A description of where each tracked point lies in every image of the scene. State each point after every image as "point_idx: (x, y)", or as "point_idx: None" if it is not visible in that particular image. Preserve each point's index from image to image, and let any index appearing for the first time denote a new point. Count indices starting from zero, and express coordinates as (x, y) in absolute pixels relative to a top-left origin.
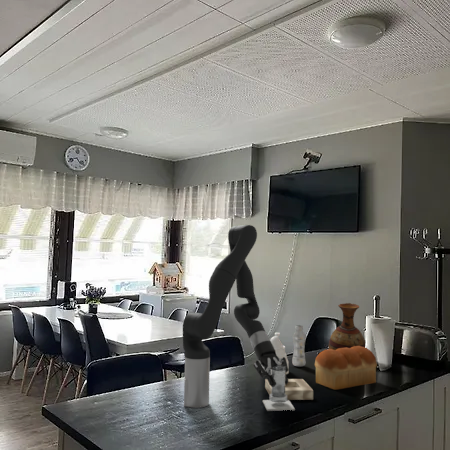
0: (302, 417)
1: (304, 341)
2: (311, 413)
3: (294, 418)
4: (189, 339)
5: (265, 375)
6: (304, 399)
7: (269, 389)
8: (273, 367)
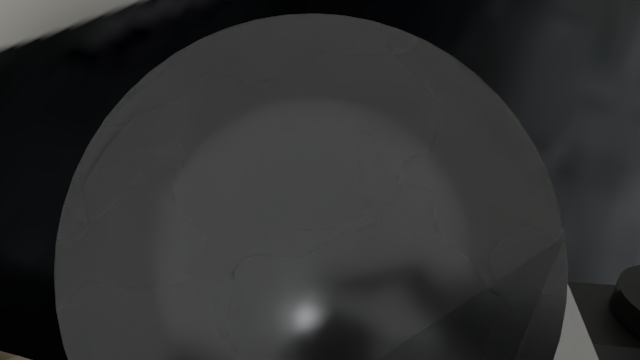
0: (257, 3)
1: None
2: (157, 47)
3: (317, 3)
4: None
5: (594, 297)
6: (4, 352)
7: None
8: (546, 172)
